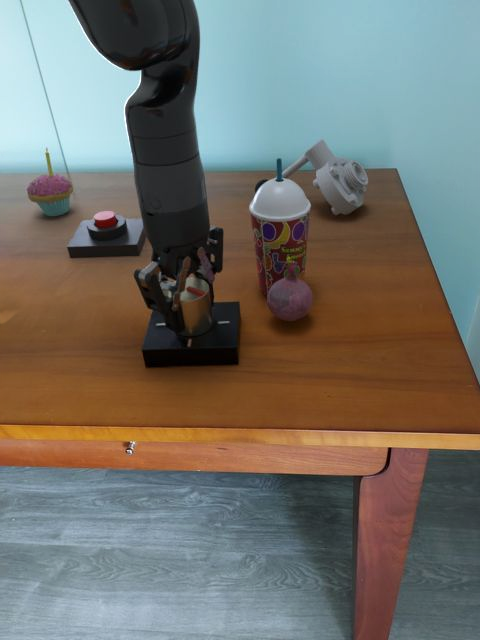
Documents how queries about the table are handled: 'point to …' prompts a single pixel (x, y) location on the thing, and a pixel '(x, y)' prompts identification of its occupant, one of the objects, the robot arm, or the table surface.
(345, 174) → the valve
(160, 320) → the dial panel
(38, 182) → the cupcake
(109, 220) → the button
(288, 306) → the vegetable
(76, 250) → the box
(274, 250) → the smoothie
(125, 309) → the table surface
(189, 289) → the pointer knob
